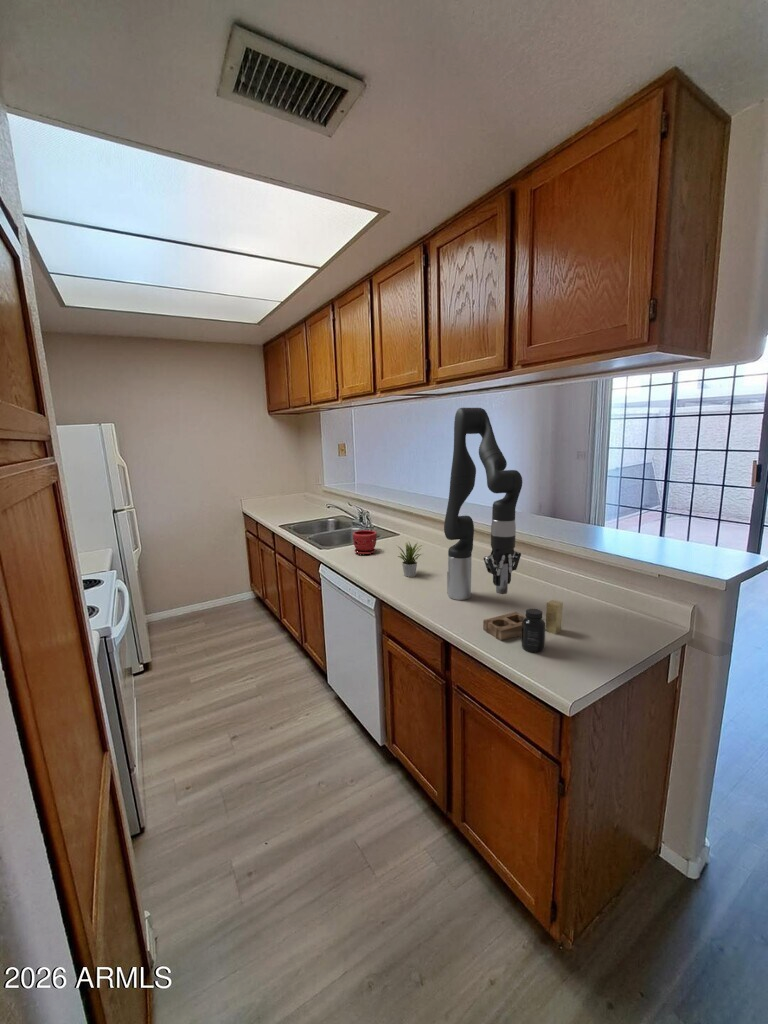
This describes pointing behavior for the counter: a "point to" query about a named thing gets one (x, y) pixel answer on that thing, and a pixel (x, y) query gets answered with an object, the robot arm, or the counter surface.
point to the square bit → (554, 616)
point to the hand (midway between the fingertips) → (501, 584)
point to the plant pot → (362, 545)
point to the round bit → (503, 580)
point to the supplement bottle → (533, 631)
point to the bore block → (504, 626)
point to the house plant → (410, 560)
